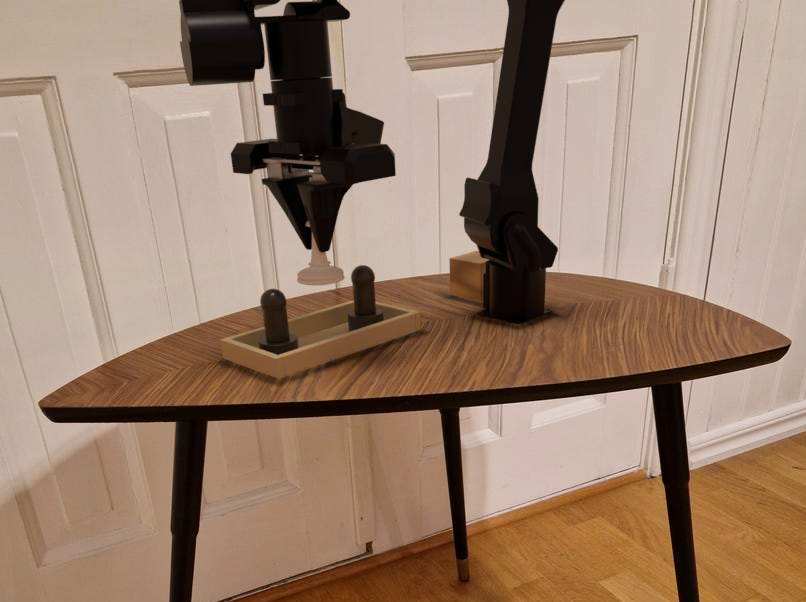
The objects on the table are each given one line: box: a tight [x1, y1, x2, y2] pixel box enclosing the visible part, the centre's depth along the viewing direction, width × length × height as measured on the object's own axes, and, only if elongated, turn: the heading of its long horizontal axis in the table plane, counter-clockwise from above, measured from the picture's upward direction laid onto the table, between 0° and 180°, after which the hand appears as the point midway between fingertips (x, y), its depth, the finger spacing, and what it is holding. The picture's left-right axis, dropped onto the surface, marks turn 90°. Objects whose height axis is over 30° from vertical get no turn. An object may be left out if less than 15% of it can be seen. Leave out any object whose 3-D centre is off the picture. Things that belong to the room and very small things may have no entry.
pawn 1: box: [258, 288, 299, 355], centre depth 81 cm, size 4×4×7 cm
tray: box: [219, 299, 422, 380], centre depth 86 cm, size 20×10×2 cm, turn 134°
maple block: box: [449, 250, 489, 302], centre depth 101 cm, size 5×5×5 cm
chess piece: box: [296, 177, 346, 286], centre depth 81 cm, size 5×5×10 cm
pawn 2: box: [347, 264, 384, 332], centre depth 88 cm, size 4×4×7 cm
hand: (317, 250), depth 82 cm, fingers closed on chess piece
